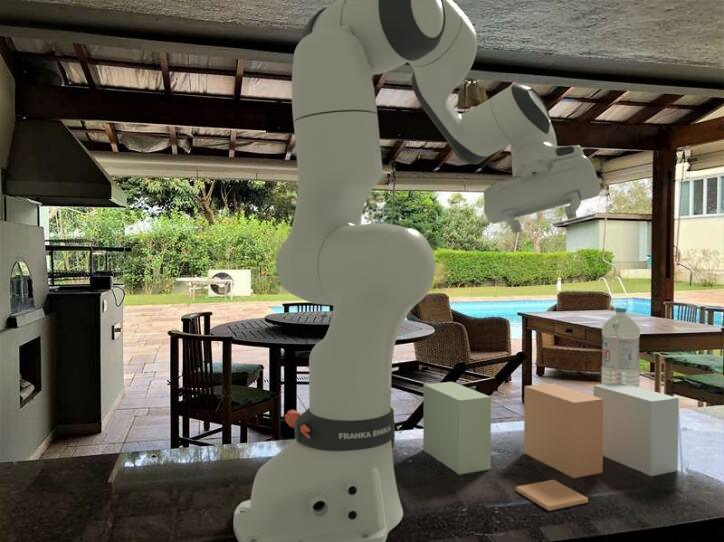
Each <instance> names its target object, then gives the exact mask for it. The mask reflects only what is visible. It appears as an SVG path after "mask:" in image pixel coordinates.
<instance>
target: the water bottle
mask: <svg viewBox="0 0 724 542" xmlns="http://www.w3.org/2000/svg"><path fill="white" fill-rule="evenodd" d="M615 313H616V314H615V315H614V316H611V317H610V318H609V319H608V320H607V321H606V322H605V323H604V324H603V326H602V328H601V335H602V348H601V349H602V350H601V352H602V354H601V356H602V357H601V359H602V360H601V363H602V364H601V384H610V383H618V382H619V383H623V384H626V385H630V386H634V387H638V388H640V381H641V380H640V375H641V374H640V337H641V334H640V333H641V329H640V328H639V326H638V325H637V323H636V322H635V321H634V320H633V319H632V318H630V317H629V316H628V315H626V313H627V308H626V307H621V306H617V307H615Z"/></svg>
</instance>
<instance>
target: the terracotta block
mask: <svg viewBox="0 0 724 542" xmlns="http://www.w3.org/2000/svg"><path fill="white" fill-rule="evenodd" d="M523 397H524V400H523V401H524V405H523V406H524V407H523V409H524V411H523V412H524V414H523V415H524V419H523V420H524V423H523V424H524V425H523V428H524V430H523V431H524V432H523V437H524V438H523V443H524V445H523V446H524V447H523V449H524V450H523V453H524V454H525V455H527V456H528V457H531V458H533V459H535V460H536V461H538V462H541V463H543V464H545V465H547V466H549V467H551V468H553V469H555V470H557V471H559V472H561V473H562V474H564V475H567V476H569V477H571V478H573V479H577V478H580V477H581V478H582V477H587V476H592V475H599V474H602V473H603V472H604V471H603V469H604V463H603V462H604V456H603V399H601V398H598V397H595V396H593V395H591V394H587V393H584V392H580V391H578V390H574V389H571V388H568V387H565V386H562V385H558V384H554V383H543V384H542V383H541V384H535V385H534V384H533V385H525V386H524V396H523Z"/></svg>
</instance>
